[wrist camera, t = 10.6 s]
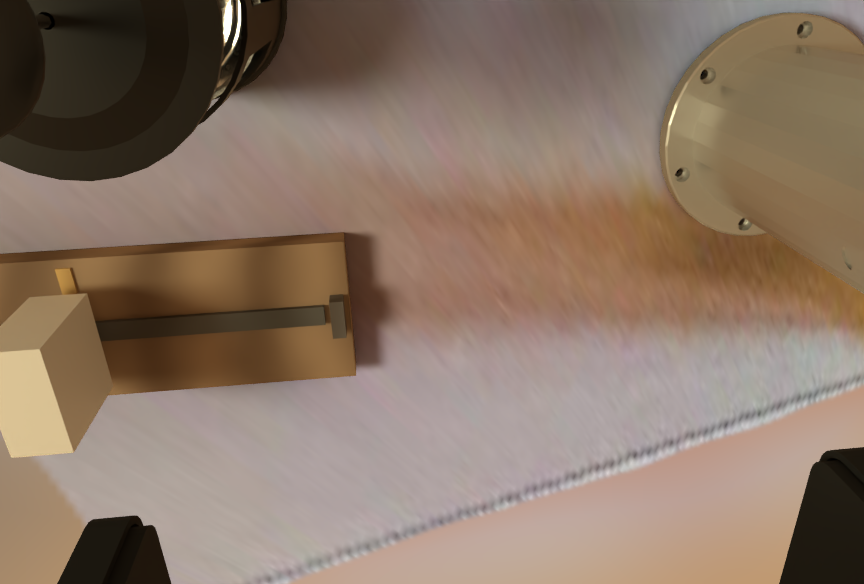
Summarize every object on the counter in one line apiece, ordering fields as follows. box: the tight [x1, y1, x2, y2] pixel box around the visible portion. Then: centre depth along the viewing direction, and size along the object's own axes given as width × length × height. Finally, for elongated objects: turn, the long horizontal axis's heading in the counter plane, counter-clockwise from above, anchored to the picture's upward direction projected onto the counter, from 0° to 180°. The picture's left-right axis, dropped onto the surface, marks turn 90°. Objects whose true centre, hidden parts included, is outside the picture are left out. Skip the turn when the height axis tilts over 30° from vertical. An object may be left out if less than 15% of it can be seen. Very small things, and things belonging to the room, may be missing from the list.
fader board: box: [0, 233, 356, 395], centre depth 39 cm, size 22×9×2 cm, turn 92°
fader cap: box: [0, 293, 113, 458], centre depth 35 cm, size 3×6×7 cm, turn 2°
